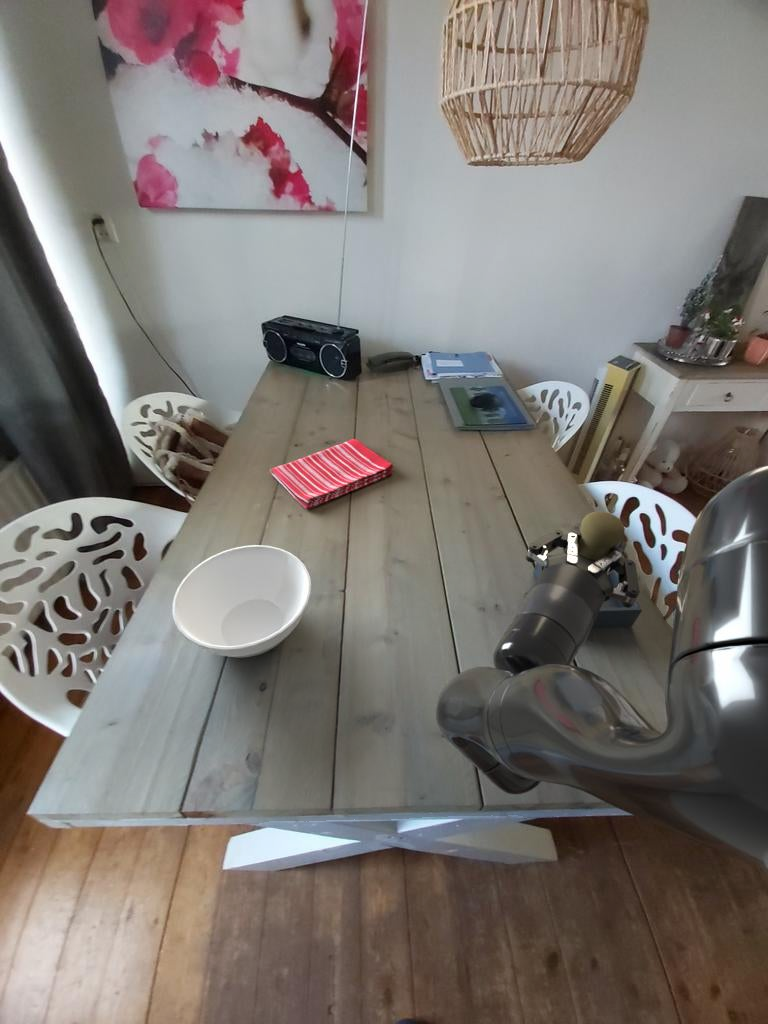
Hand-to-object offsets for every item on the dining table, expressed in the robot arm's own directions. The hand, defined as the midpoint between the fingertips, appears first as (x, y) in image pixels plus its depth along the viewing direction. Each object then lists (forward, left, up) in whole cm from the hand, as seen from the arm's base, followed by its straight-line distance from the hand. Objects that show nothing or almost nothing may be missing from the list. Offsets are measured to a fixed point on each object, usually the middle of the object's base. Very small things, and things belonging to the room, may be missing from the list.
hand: (600, 534), depth 61 cm
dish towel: (+57, +4, -18) cm, 60 cm away
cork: (0, +3, -7) cm, 7 cm away
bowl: (+32, +39, -18) cm, 53 cm away
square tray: (0, -5, -18) cm, 18 cm away
